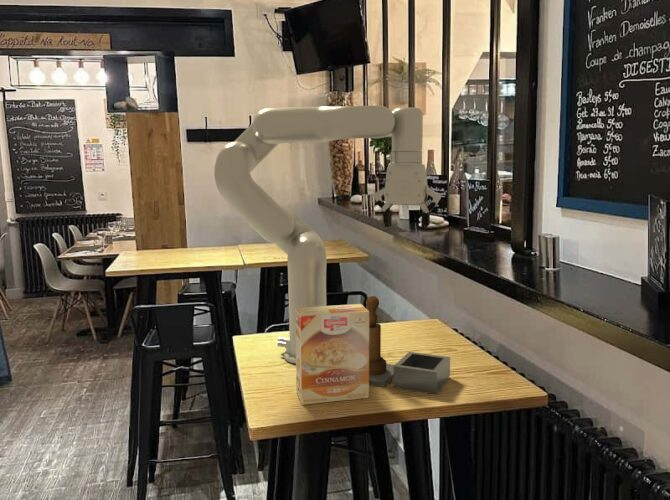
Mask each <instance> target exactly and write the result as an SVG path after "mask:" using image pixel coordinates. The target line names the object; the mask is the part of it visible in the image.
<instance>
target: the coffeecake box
mask: <svg viewBox="0 0 670 500" xmlns="http://www.w3.org/2000/svg"><path fill="white" fill-rule="evenodd" d="M295 320H296V364H295V368H296V369H295V387H296V395H297V397H298V400H299V402H300V404H301V405H302V406H306V405H311V404H313V405H314V404H321V403H322V404H323V403H331V402H341V401H342V402H343V401H351V400H360V399H361V398H363V399H369V398H370V384H369V309H368V308H366V307H365V306H364V305H363V304H362V303H353V304H352V303H351V304H339V305H337V304H336V305H326V306H319V307H303V308H295ZM368 397H369V398H368Z"/></svg>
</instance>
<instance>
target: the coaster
mask: <svg viewBox="0 0 670 500" xmlns="http://www.w3.org/2000/svg"><path fill="white" fill-rule="evenodd" d="M394 365H395V364H392V363H386V372H385V373H383V374H380V375H369V386H370V385H371V386H376V387H377V386H378V387H382V386H383V387H386V386H387V385H388V383H389V382H391V381H392V380H393V366H394ZM385 385H386V386H385Z"/></svg>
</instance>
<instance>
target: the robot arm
mask: <svg viewBox="0 0 670 500" xmlns="http://www.w3.org/2000/svg"><path fill="white" fill-rule="evenodd" d="M423 115H424V113H423V111H422V109H421V108H418V107H398V108H395V109H390V108H388V107H386V106H384V105H380V104H379V105H378V104H377V105H352V106H351V105H350V106H349V105H348V106H347V105H346V106H326V105H325V106H323V105H321V106H319V105H318V106H296V107H295V106H293V107H267V108H263V109H261V110H259V111H258V112H257V113H256V114H255V116H254V118H253V120H252V123H251V124H250V125H249V126H247V128H246V129H245V130H244V131H243V132H242V133H241V134H240V135H239V136H238V137H237V138H236V139H235V140H234V141H232V142H229V143H227V144H225V145H224V146H223V147H222V148H221V149H220V151H219V153H218V154H217V156H216V160H215V164H214V173H213V174H214V175H213V176H214V182H215V185H216V188H217V190H218V192H219V193H220V195H221V197H222V198H223V199H224V200H225V202H226V203H227V204H228V206H230V207H231V208H232V209H233V210H234V211H235V212H237V214H238V215H239V216H241V218H242V219H243V220H244V221H245V222H246V223H247V224H248V225H249V226H250V227H252V229H253V230H255V232H257V233H258V234H259V235H260V237H261V238H262V239H264V240H265V241H266V242H268V243H271V244H275V245H276V246H277V247H278V248H279V249H280V250H282V252H283V253H285V254H286V255H287V257H286V258H287V280H288V282H287V285H288V315H289V316H288V317H289V319H288V320H289V321H288V323H289V328H288V331H289V338H288V337H282V336H278V339H277V347H280V348H285V351H284V353H283V358H284V360H285V361H287V362H288V363H291V364H295V365H296V320H295V308H303V307H319V306H327V263H328V262H327V261H328V260H327V250H326V247H325V244H324V242H323V239H322V237H320V235H318V233H317V232H315V230H313V228H311V227H310V226H309V225H308V224H307V223H306V222H305V221H304V220H303V219H302V218H301V217H300V216H299V215H297V214H296V212H294V211H293V209H291V208H289V207H288V206H287V205H285V204H283V203H280V202H277V201H276V200H275V199H273V198H272V197H271V196H270V195H269V194H268V193H267V192H266V191H265V190H264V189H263V188H262V187H261V186H260V185H259V184H257V182H255V180H253V178H252V174H251V172H252V171H253V170H255V169H256V167H257V166H259V164H260V163H261V162H262V161H263V160H265V158H266V157H267V156H268V155H269V154H270V153H271V152H273V150H274V149H275V148H276V147H277V146H278V145H279V144H296V143H299V144H303V143H326V142H331V141H336V140H348V139H349V140H353V139H355V140H356V139H381V138H387V137H391V151H390V153H387V154H386V157H385V158H386V160H389V161H390V163H391V164H388V166H387V169H386V175H385V182H384V188H382V189H380V190H377V191H376V192H374V193H373V198H374V200H375V202H376V204H377V206H378V207H379V208H380V209H381V211H382V215H383V217H382V221H383V225H384V228H390V227H391V226H392V221H393V220H392V218H393V217H392V215H393V214H392V212H393V211H392V210H391V209H392V206H394V205H395V206H419V207H420V208H421V210H422V213H421V224H420V225H421V229H422V230H426V229H428V227H429V226H430V222H431V221H430V220H431V212H432V210H433V209H435V208H436V207H437V206H438V203H439V202H440V200H441V197H442V195H441V193H440V194H439V193H438V192H436V191H434V190H432V189H431V188H429V187H428V179H427V170H426V166H425V164H423V135H424V134H423V132H424V131H423V124H424V120H423V119H424V116H423ZM383 195H384V200H383V199H382V196H383ZM428 197H431V198H432V201H431V202H430V203H428Z"/></svg>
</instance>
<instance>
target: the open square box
mask: <svg viewBox="0 0 670 500" xmlns="http://www.w3.org/2000/svg"><path fill="white" fill-rule="evenodd" d="M393 365H394V366H393V379H392V380H393V381H392V383H393V385H392V387H393V388H395V389H400V388H401V390H406V389H407V390H408V391H412V390H413V392H418V391H419V393H424V392H427V394H431V393H432V395H438V393H439V392H440V391H441V390H442V388H443V387H444V386H445V385H446V383H447V382H448V381H449V380H450V378H451V357H450V356H445V355H444V356H443V355H437V354H429V353H421V352H416V351H408V352H407V353H405V355H404V356H403V357H402V358H401V359H399V360H398V361H397V362H396V363H395V364H393ZM407 390H406V391H407Z"/></svg>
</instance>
